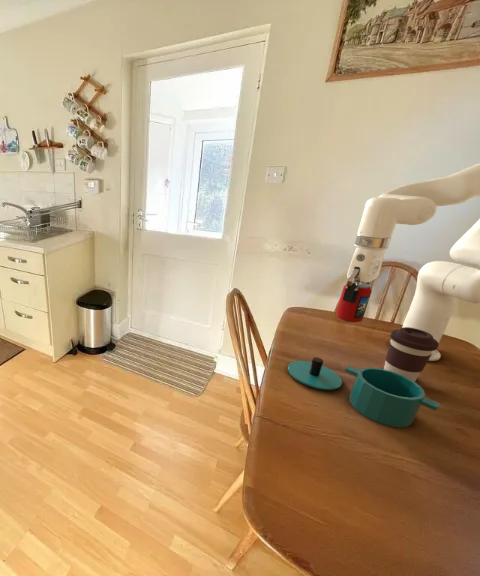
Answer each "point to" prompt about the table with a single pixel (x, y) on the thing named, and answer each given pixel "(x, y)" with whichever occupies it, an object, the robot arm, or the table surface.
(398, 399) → the pot
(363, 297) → the beverage can
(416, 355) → the coffee cup
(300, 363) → the lid
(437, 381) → the table surface
